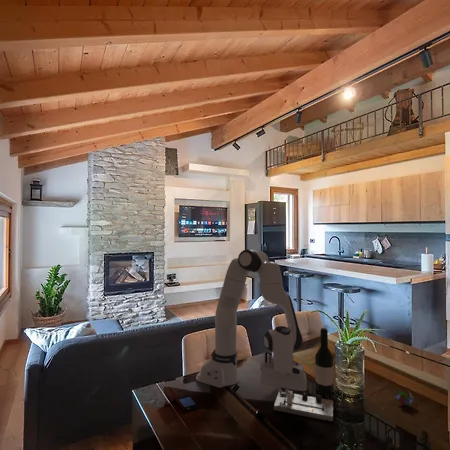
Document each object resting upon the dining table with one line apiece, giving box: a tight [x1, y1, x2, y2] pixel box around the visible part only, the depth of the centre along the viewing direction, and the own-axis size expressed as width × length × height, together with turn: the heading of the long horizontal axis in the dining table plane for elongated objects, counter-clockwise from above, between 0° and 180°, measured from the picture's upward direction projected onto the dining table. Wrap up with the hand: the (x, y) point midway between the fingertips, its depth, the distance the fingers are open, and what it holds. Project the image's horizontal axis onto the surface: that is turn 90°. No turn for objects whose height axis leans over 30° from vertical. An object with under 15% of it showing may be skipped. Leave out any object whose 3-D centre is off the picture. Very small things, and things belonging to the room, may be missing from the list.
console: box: [273, 389, 334, 422], centre depth 134 cm, size 24×13×4 cm, turn 71°
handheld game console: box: [168, 386, 200, 414], centre depth 136 cm, size 12×11×7 cm
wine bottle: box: [314, 327, 334, 395], centre depth 150 cm, size 8×8×30 cm
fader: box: [287, 391, 293, 404], centre depth 135 cm, size 2×3×4 cm, turn 161°
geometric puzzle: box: [394, 389, 415, 408], centre depth 137 cm, size 7×7×8 cm
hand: (283, 397), depth 135 cm, fingers closed
